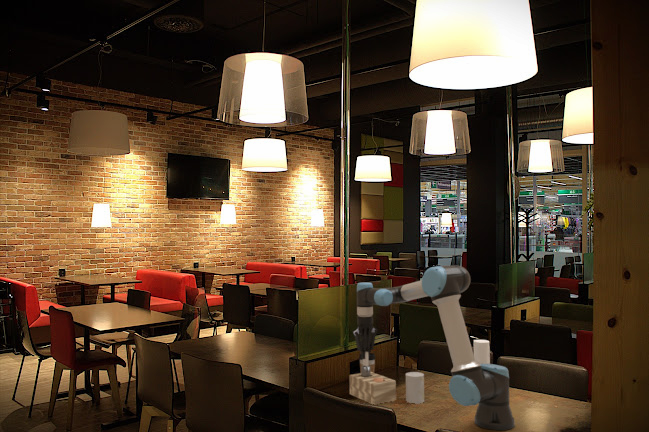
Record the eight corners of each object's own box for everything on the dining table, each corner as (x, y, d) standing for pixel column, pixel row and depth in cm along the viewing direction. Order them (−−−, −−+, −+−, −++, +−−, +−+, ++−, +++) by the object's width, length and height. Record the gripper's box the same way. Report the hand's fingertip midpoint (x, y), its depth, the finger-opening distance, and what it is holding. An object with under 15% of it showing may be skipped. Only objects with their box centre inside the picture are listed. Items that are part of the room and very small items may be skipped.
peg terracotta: (385, 399, 251) (385, 379, 251) (377, 401, 249) (377, 380, 249) (379, 397, 255) (379, 377, 255) (371, 398, 252) (371, 378, 253)
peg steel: (372, 385, 260) (372, 366, 260) (364, 387, 257) (364, 367, 258) (367, 383, 263) (366, 364, 264) (359, 385, 261) (359, 365, 261)
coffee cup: (356, 382, 282) (355, 352, 283) (370, 380, 286) (370, 350, 286) (364, 386, 275) (363, 355, 275) (379, 384, 278) (378, 354, 279)
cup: (424, 404, 245) (423, 377, 245) (405, 403, 247) (405, 376, 247) (424, 398, 253) (424, 372, 253) (406, 398, 254) (406, 371, 255)
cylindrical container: (478, 392, 262) (477, 339, 263) (493, 394, 258) (491, 340, 259) (472, 395, 257) (470, 341, 258) (486, 398, 252) (485, 343, 253)
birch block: (395, 400, 250) (395, 380, 251) (374, 405, 244) (374, 384, 245) (370, 390, 268) (370, 371, 268) (349, 394, 262) (349, 374, 262)
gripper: (371, 313, 268) (372, 362, 267) (349, 315, 261) (349, 365, 261) (380, 315, 261) (381, 365, 261) (358, 317, 255) (358, 369, 254)
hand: (365, 365), depth 261 cm, fingers closed
